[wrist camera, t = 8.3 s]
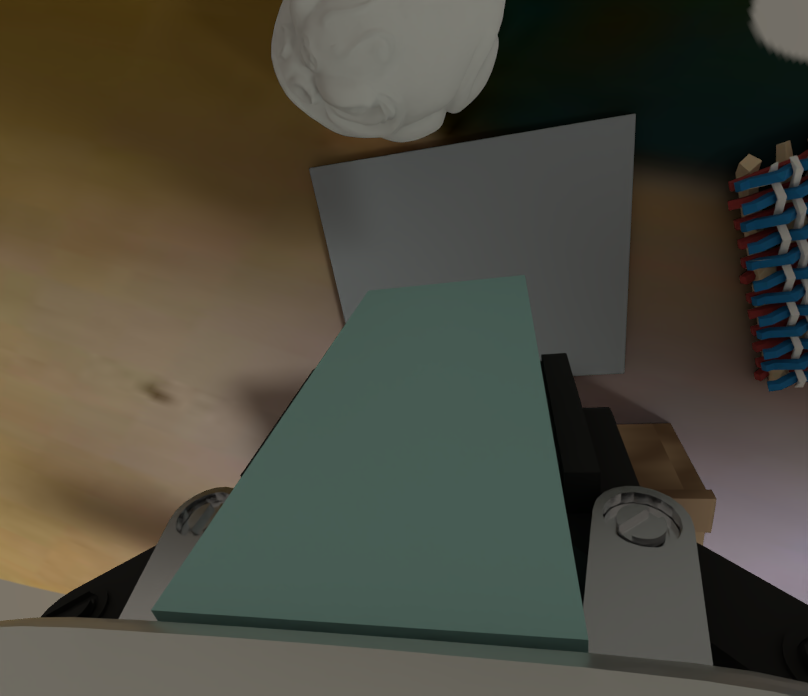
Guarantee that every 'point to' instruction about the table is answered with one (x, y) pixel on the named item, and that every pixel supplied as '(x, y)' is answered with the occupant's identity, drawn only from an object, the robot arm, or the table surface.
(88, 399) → the table surface
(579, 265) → the slate pad
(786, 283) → the woven mat
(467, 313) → the teal block
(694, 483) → the wooden frame
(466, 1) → the white round lump
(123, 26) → the table surface
